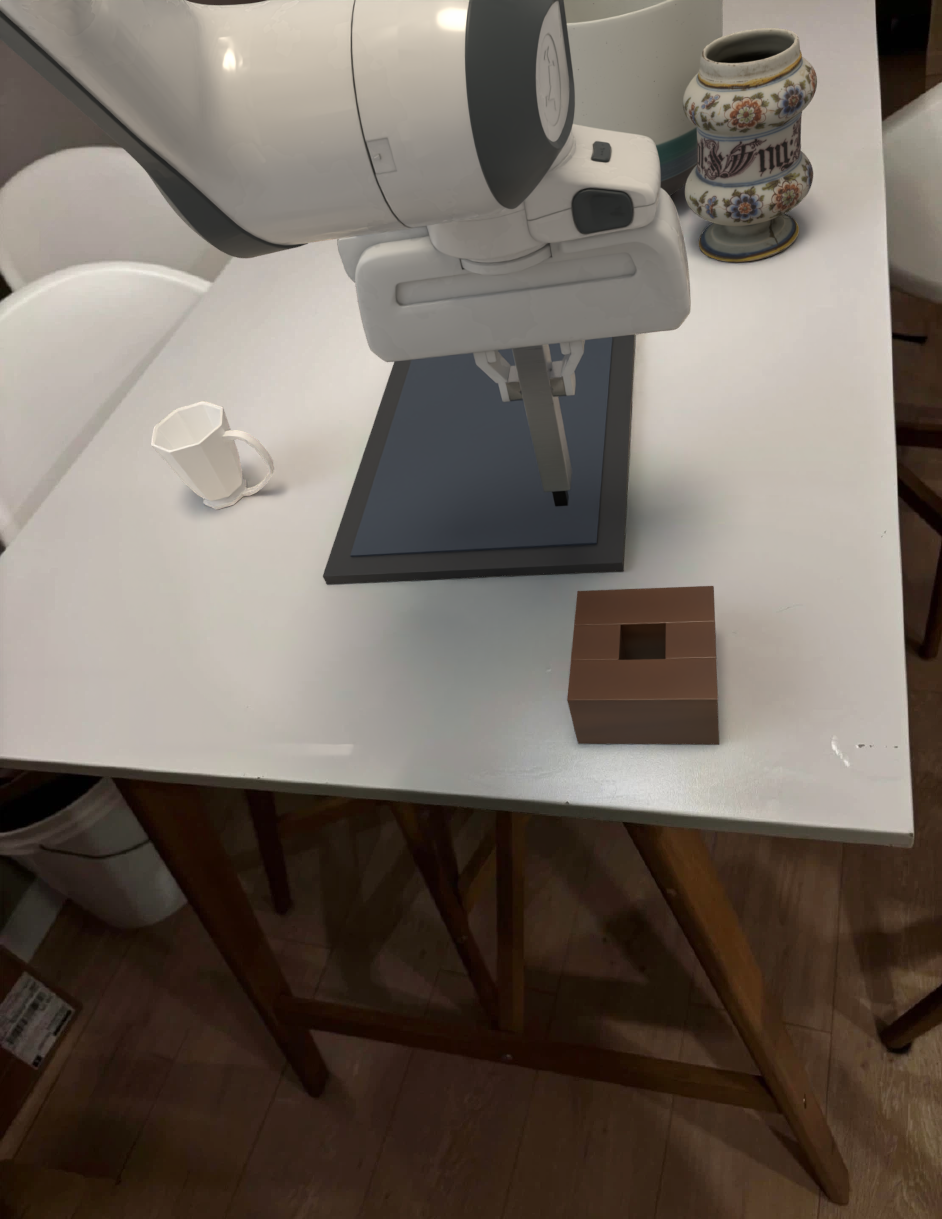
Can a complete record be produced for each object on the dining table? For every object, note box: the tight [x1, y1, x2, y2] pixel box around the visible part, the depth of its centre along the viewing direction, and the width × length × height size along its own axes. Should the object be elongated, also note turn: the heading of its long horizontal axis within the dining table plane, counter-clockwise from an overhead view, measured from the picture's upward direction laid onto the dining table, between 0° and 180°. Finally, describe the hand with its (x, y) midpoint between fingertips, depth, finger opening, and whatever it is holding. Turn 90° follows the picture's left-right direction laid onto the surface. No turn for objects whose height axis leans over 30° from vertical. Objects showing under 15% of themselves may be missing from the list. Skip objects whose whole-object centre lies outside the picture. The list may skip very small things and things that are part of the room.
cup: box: [150, 400, 275, 511], centre depth 80 cm, size 7×10×8 cm
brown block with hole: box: [566, 585, 720, 746], centre depth 57 cm, size 9×9×5 cm
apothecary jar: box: [683, 27, 818, 263], centre depth 85 cm, size 12×12×18 cm
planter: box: [564, 0, 724, 197], centre depth 95 cm, size 20×20×21 cm
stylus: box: [512, 344, 572, 507], centre depth 62 cm, size 2×2×15 cm
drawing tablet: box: [322, 334, 637, 585], centre depth 81 cm, size 40×24×1 cm, turn 172°
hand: (540, 393), depth 60 cm, fingers closed on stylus, 2 cm apart
